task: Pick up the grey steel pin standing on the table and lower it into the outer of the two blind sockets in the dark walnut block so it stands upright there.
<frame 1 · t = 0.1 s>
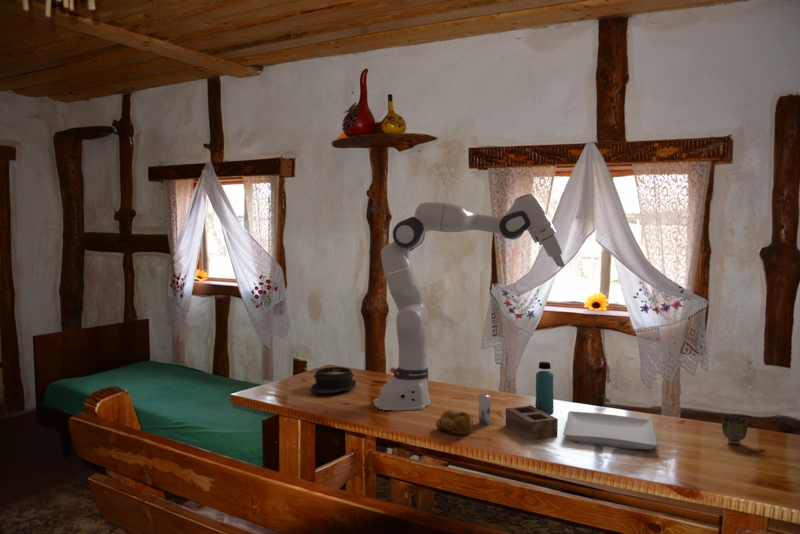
hand: (561, 266, 213), 54 cm above the table, tool tilted 30°, fingers open, 8 cm apart
bread roll: (455, 432, 191), on the table
steel pin: (484, 423, 199), on the table
beverage bottle: (544, 417, 207), on the table
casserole: (333, 390, 245), on the table
square plate: (609, 437, 187), on the table
socket block: (530, 431, 191), on the table
cup: (734, 444, 180), on the table
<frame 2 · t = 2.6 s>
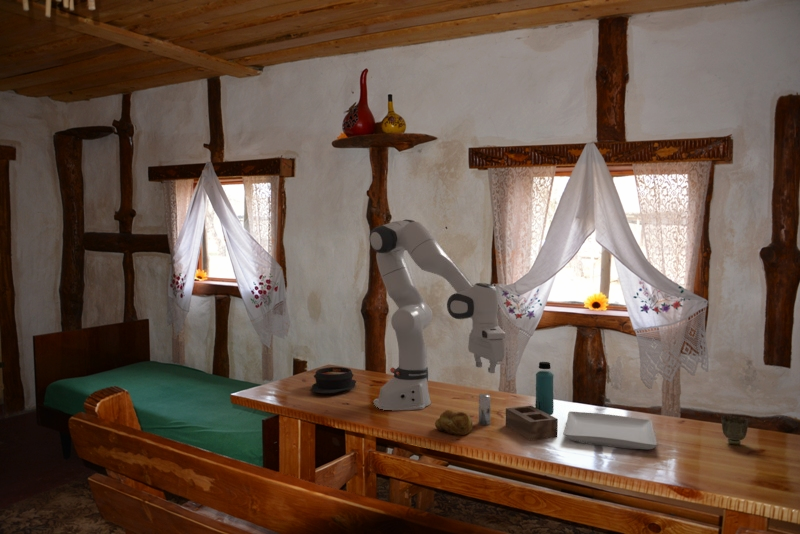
hand: (485, 369, 198), 19 cm above the table, tool pointing down, fingers open, 8 cm apart
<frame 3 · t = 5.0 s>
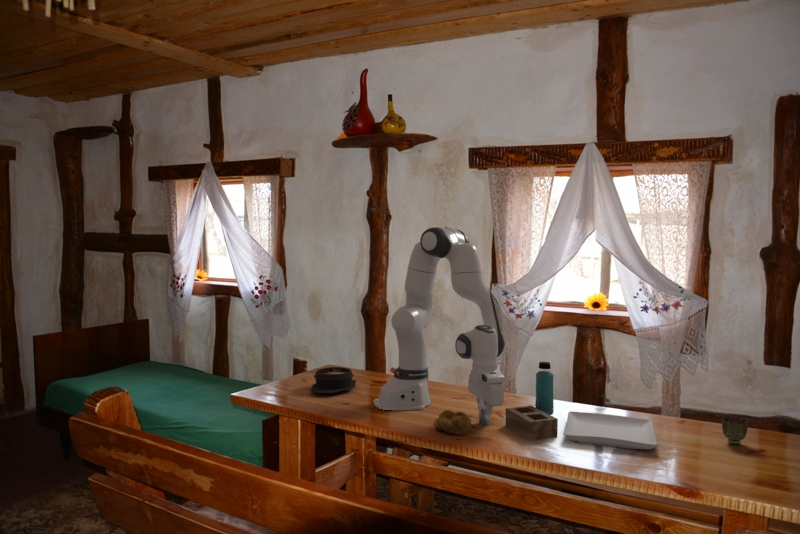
hand: (484, 412, 199), 4 cm above the table, tool pointing down, fingers closed on steel pin, 4 cm apart
steel pin: (484, 423, 199), on the table, touching gripper
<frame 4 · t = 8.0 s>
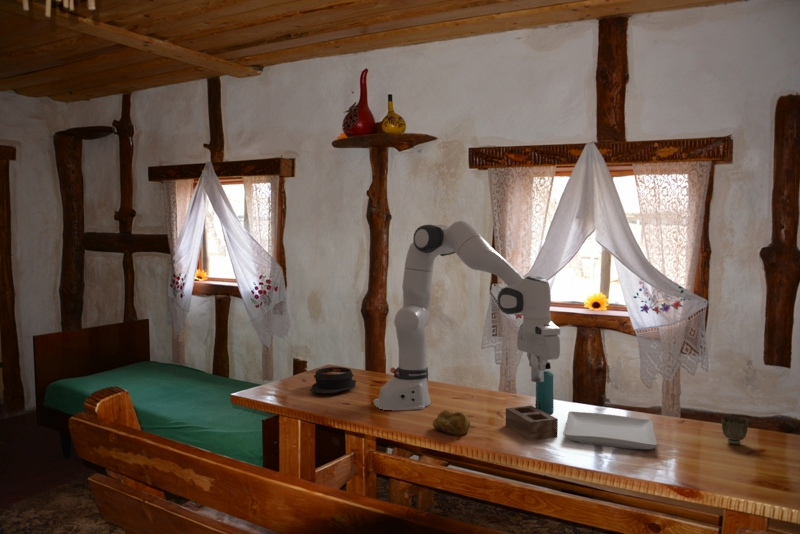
hand: (537, 368, 187), 22 cm above the table, tool pointing down, fingers closed on steel pin, 4 cm apart
steel pin: (537, 380, 187), point 18 cm above the table, touching gripper
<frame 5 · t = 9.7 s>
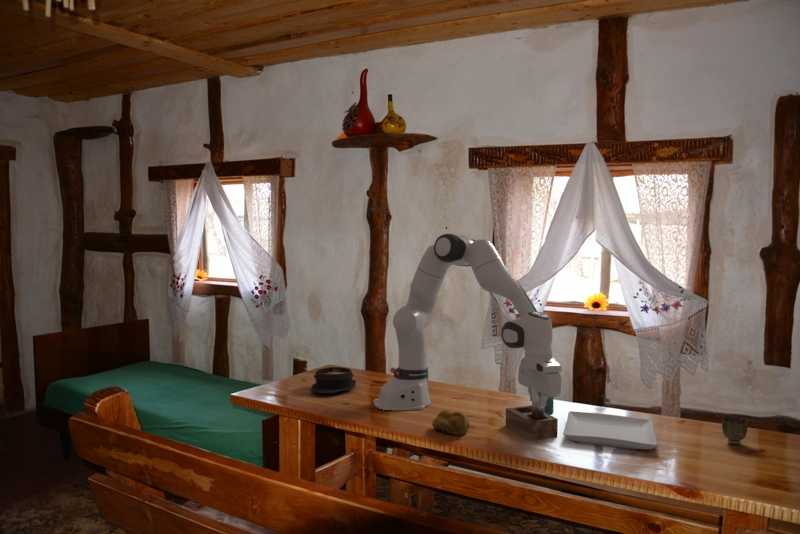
hand: (538, 403, 187), 10 cm above the table, tool pointing down, fingers closed on steel pin, 4 cm apart
steel pin: (538, 416, 188), point 6 cm above the table, touching gripper
when the fingers open (7 cm above the table, at t = 11.2 s): steel pin stays where it is, resting on socket block.
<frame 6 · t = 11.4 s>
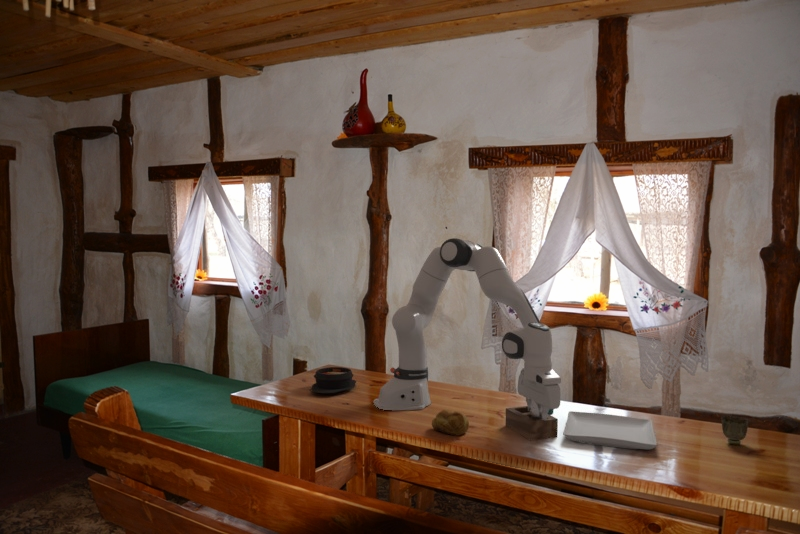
hand: (537, 415, 187), 7 cm above the table, tool pointing down, fingers open, 6 cm apart
steel pin: (537, 428, 188), point 2 cm above the table, touching socket block
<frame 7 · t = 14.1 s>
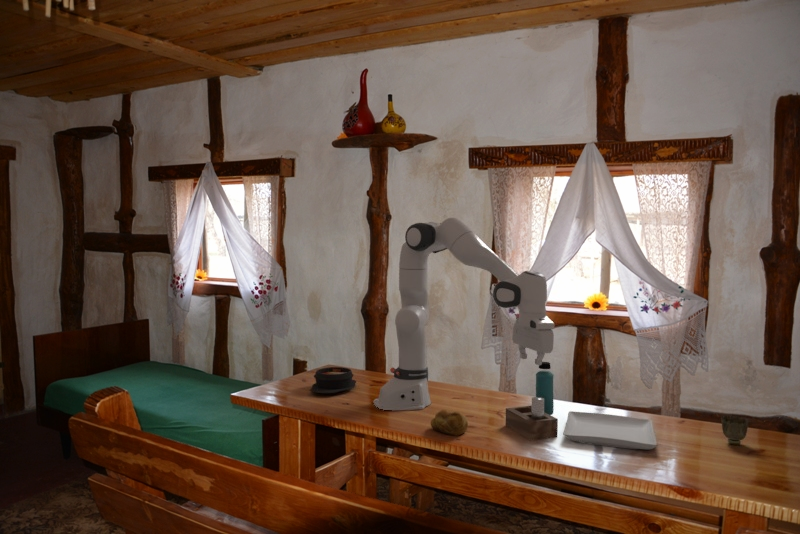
hand: (530, 361, 191), 23 cm above the table, tool pointing down, fingers open, 8 cm apart
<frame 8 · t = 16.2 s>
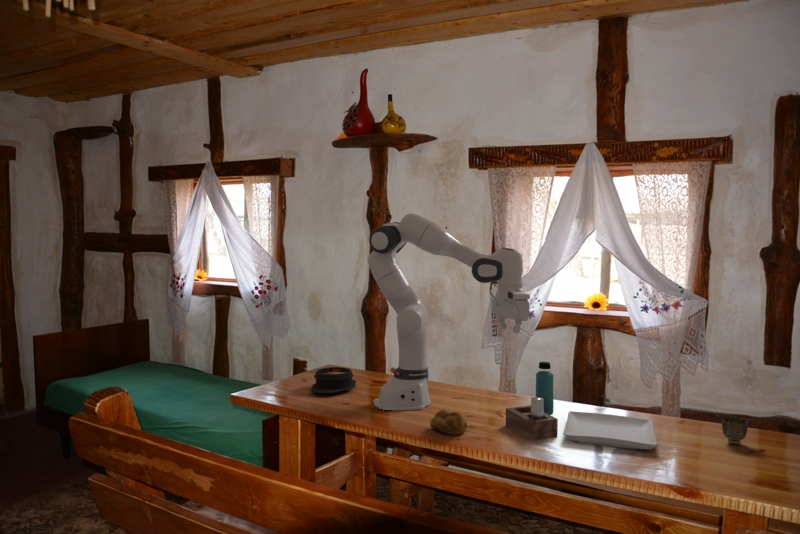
hand: (509, 330, 208), 31 cm above the table, tool pointing down, fingers open, 8 cm apart
at the end: steel pin 0.1 cm from the target spot on the socket block, point 2.0 cm above the socket block's base; steel pin tilted 1°; the gripper is holding nothing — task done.
